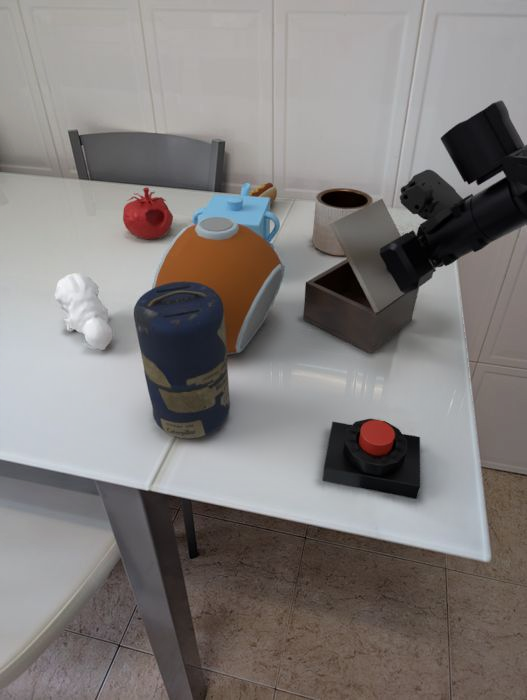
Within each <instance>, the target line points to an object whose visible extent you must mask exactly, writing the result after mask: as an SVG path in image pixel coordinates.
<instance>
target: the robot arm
mask: <svg viewBox="0 0 527 700" xmlns="http://www.w3.org/2000/svg"><path fill="white" fill-rule="evenodd" d="M440 141H441V143H442V145H443V146H444V148H445V150H446V152H447V153H448V155H449V157H450V160H451V161H452V162H453V164H454V166H455V168H456V169H457V172H458V173H459V175H460V177H461V179H462V180H463V182H464V183H467V185H468V186H470V185H471V184H472V183H476V185H477V186H481V185H482V184H484V183H485V182H487V181H488V180H491V179H492V178H494V177H495V176H497V175H499V174H500V173H502V172H503V174H504V177H502V178H501V179H499V180H498V181H496V182H494V183H493V184H490V185H488V187H487V186H486V188H484V189H482V190H480V191H479V192H477V193H475V194H473V193H471V194H469V195H466V197H464V198H463V197H462V196H461V195H460V194H459V193H458V192H457V191H456V188H454V187H453V186H452V185H451V184H450V183H448V182H447V181H446V180H445V179H444V178H443V177H442V176H440V175H439V174H438V173H437V172H436V171H434V170H432V169H425V170H423V171H421V172H418V173H416V174H414V175H413V176H412V177H411V179H410V180H409V181H408V183H407V184H406V185H403V186H401V188H400V193H401V194H399V200H400V204H401V205H402V206H403V207H405V209H407V210H408V211H409V212H410V213H411V214H412V215H417V216H419V217H420V218H421V219H423V220H425V221H423V222H422V223H420V224H419V226H418V227H417V231H416V232H415V230H414V229H412V230H411V231H409V232H406V233H404V234H402V235H401V236H400V237H399V238H397V239H395V240H394V241H392V242H390V243H389V244H387V245H385V246H384V247H382V248H380V256H381V258H382V259H383V261H384V263H385V265H386V268H387V270H388V272H389V273H391V275H392V277H393V279H394V280H395V282H396V284H397V286H398V287H399V289H400V291H401V292H403V293H405V294H406V293H408V292H411V291H413V290H415V289H417V288H419V289H420V287H421V286H423V285H424V284H426V283H427V282H428V281H430V280H431V279H433V274H434V273H435V272H436V271H437V270H436V269H437V268H442V267H443V266H444V267H447V266H449V265H451V264H453V263H455V262H457V260H459V259H461V257H464V256H466V255H468V254H471V253H472V252H473V253H477V252H479V251H480V250H481V251H482V250H483V249H484V248H485V247H487V246H488V245H489V244H491V243H493V242H494V241H497V240H498V239H501V238H503V237H506V236H507V235H509V234H511V233H513V232H515V231H517V230H519V229H521V228H523V227H526V226H527V144H524V141H523V140H522V138H521V136H520V134H519V133H518V130H517V129H516V127H515V125H514V123H513V121H512V119H511V117H510V114H509V109H508V108H507V106H506V104H505V102H504V100H497V101H495V102H493V103H491V104H490V105H488V106H487V107H485V108H484V109H483V110H480V111H479V112H477V113H475V114H474V115H472V116H471V117H469V118H467V119H466V120H464V121H461V122H459V123H457V124H455V125H454V126H452V127H451V128H450V129H449V130H448V131H446V132H445V133H444V134H443V135H442V136H441V137H440Z"/></svg>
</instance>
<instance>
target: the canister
mask: <svg viewBox="0 0 527 700" xmlns="http://www.w3.org/2000/svg"><path fill="white" fill-rule="evenodd" d="M133 320H134V325H135V330H136V335H137V340H138V345H139V350H140V355H141V360H142V365H143V372H144V378H145V382H146V387H147V391H148V394H149V399H150V403H151V407H152V417H153V419H154V422H155V423H156V424H157V426H158V427H159V429H161V430H162V431H163V432H164V433H166V434H168V435H171V436H172V437H176V438H181V439H187V440H188V439H190V440H191V439H197V438H201V437H204V436H207V435H209V434H212V433H213V432H214V431H216V430H217V429H218V428H220V427H221V426H222V425H223V424H224V422H225V421H226V419H227V418H228V415H229V413H230V404H231V403H230V386H229V371H228V355H227V346H226V331H225V318H224V308H223V303H222V300H221V298H220V297H219V295H218V294H217V293H216V292H215V291H214V290H213V289H211V288H210V287H208V286H205V285H202V284H200V283H195V282H185V281H183V282H172V283H167V284H164V285H160V286H157V287H155V288H153V289H152V288H151V289H150V290H148V291H146V292H144V293H143V294H142V295H141V296H140V297H139V298H138V300H137V301H136V303H135V305H134V308H133Z"/></svg>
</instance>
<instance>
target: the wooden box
mask: <svg viewBox="0 0 527 700" xmlns="http://www.w3.org/2000/svg"><path fill="white" fill-rule="evenodd" d="M304 287H305V288H304V303H303V317H302V318H303V320H304V321H306V322H308V323H309V324H311V325H313V326H315V327H317V328H319V329H322V330H323V331H325V332H327V333H328V334H331V335H333V337H334V336H335V337H336V338H339V339H341V340H342V341H344V342H346V343H348V344H350V345H351V346H354V347H355V348H357V349H360V350H362V351H364V352H365V353H367V354H372V353H373V352H374V351H375V350H377V349H378V348H379V347H380V346H382V345H383V344H384V343H385V342H387V341H388V340H389V339H391V338H392V337H393V336H394V335H396V334H397V333H399V332H400V331H401V330H402V329H403V328H404V327H406V326H407V325H408V324H410V323H411V322H412V321H413V316H414V311H415V307H416V303H417V299H418V295H419V290H420V287H419V288H417V289H415V290H413V291H411V292H408V293H406V294H405V293H404V294H403V295H402V296H400V297H399V298H397V299H396V300H395V301H393V302H392V303H390V304H389V305H387V306H386V307H385V308H383V309H382V310H380V311H379V312H376V313H375V312H374V310H373V308H372V306H371V304H370V302H369V301H368V299H367V297H366V295H365V293H364V291H363V289H362V287H361V285H360V283H359V281H358V279H357V277H356V275H355V273H354V271H353V269H352V267H351V265H350V263H349V262H348V260H347V258H346V259H344V260H342V261H341V262H339V263H337V264H335V265H333V266H332V267H330V268H328V269H327V270H324V271H323V272H321V273H319V274H318V275H316V276H314V277H312V278H311V279H309V280H307V281H305V286H304Z"/></svg>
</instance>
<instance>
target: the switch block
mask: <svg viewBox="0 0 527 700" xmlns="http://www.w3.org/2000/svg"><path fill="white" fill-rule="evenodd" d="M371 420H377V419H375V418H366V419H362V420H357V421H355V422H353V423H352V424H350V423H343V422H338V421H332V422H331V428H330V432H329V437H328V443H327V449H326V454H325V461H324V464H323V473H322V481H324V482H329V483H333V484H338V485H344V486H348V487H354V488H359V489H364V490H368V491H373V492H379V493H384V494H388V495H394V496H399V497H403V498H409V499H414V500H416V499H417V498H418V495H419V492H420V489H421V437H420V436H417V435H411V434H405V433H402V431H401V430H400V428H398V427H396V426H394V425H393V424H391V423H389V422H388V421H386V420H382V419H378V420H379V421H383V422H385V423H387V424H389V425H390V426H391V427H392V428H393V430H394V432H395V438H394V442H393V446H392V449H391V451H390V452H389V453H387V454H386V455H382V456H374V455H371V454H368V453H367V452H365V451H364V450H363V449H362V448H361V447H360V445H359V436H360V430H361V427H362V425H363V424H364V423H366V422H367V421H371Z"/></svg>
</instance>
